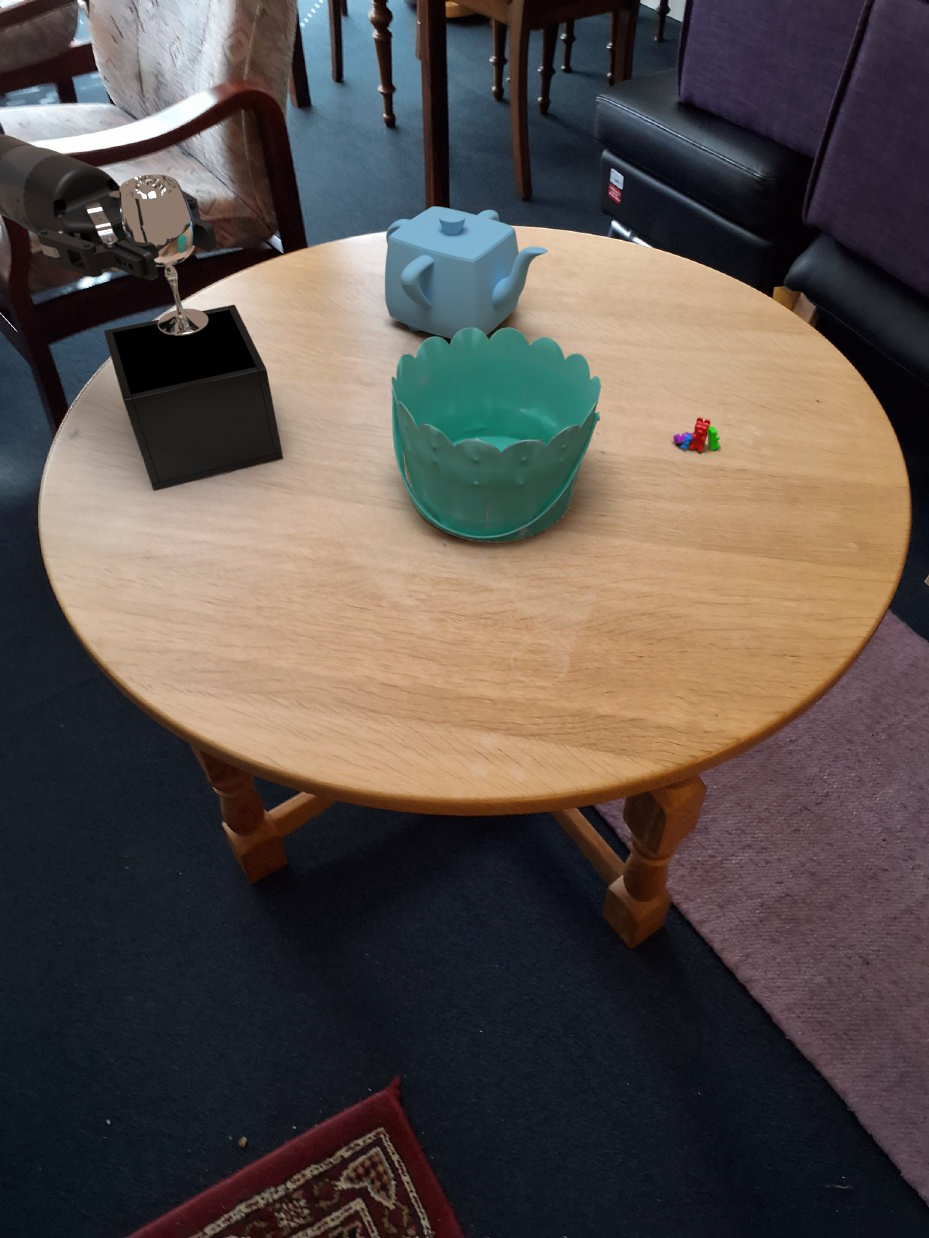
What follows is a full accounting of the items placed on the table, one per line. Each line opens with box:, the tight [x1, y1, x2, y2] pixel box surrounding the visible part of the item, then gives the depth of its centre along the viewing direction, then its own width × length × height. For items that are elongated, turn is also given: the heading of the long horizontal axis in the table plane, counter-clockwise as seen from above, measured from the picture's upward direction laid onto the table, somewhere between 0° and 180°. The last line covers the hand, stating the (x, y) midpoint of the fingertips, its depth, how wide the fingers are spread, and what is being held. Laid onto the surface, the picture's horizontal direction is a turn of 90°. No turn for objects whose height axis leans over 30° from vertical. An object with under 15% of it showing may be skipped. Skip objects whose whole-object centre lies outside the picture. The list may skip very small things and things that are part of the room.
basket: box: [390, 327, 602, 544], centre depth 86 cm, size 19×18×13 cm
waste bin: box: [103, 304, 284, 491], centre depth 93 cm, size 14×14×11 cm
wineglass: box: [119, 173, 208, 335], centre depth 76 cm, size 6×6×12 cm
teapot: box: [384, 206, 549, 341], centre depth 109 cm, size 18×16×14 cm
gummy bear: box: [672, 416, 721, 453], centre depth 94 cm, size 5×3×4 cm, turn 65°
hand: (182, 253), depth 75 cm, fingers closed on wineglass, 5 cm apart
